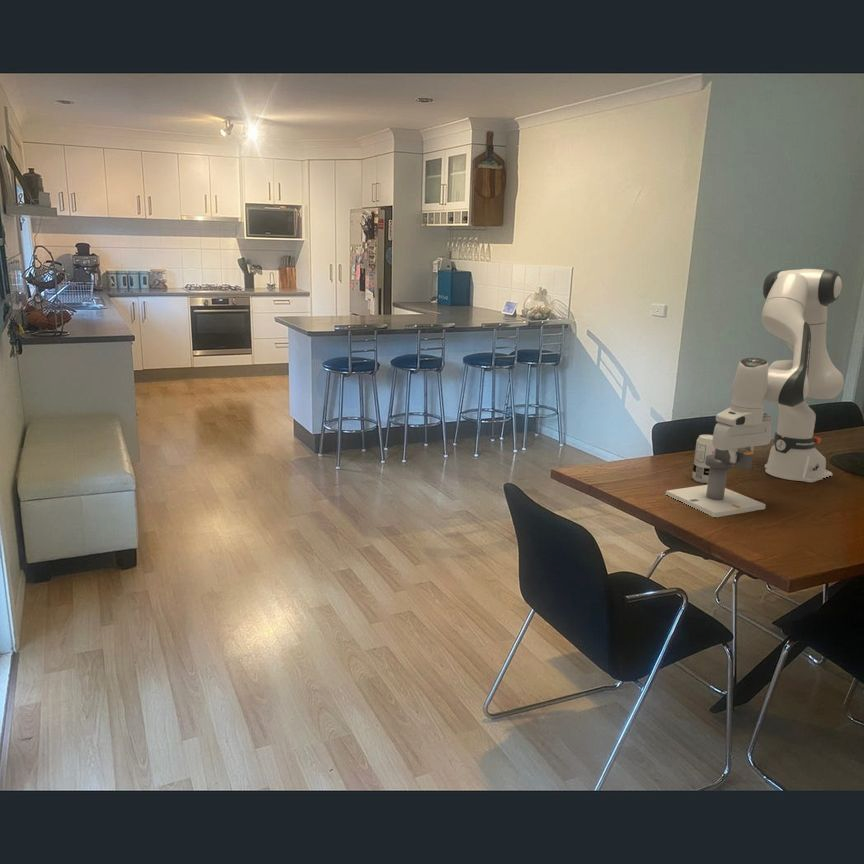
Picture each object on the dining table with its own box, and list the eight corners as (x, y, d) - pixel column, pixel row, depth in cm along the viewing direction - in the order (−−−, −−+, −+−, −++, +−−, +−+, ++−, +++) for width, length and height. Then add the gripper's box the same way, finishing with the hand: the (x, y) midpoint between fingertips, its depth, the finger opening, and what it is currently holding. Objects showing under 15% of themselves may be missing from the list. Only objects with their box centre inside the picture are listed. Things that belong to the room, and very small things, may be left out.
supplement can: (694, 475, 239) (699, 432, 235) (719, 479, 235) (725, 436, 231) (689, 481, 232) (694, 437, 228) (715, 486, 228) (721, 441, 224)
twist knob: (699, 462, 212) (701, 441, 210) (718, 460, 215) (721, 438, 214) (737, 476, 199) (740, 454, 198) (757, 473, 203) (760, 451, 201)
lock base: (713, 488, 226) (718, 453, 223) (764, 509, 208) (770, 472, 206) (665, 495, 218) (669, 459, 215) (714, 517, 201) (719, 479, 198)
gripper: (762, 410, 207) (755, 455, 211) (711, 415, 198) (705, 462, 202) (780, 414, 202) (773, 460, 205) (729, 420, 193) (723, 468, 196)
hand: (739, 461), depth 203 cm, fingers open, 3 cm apart
